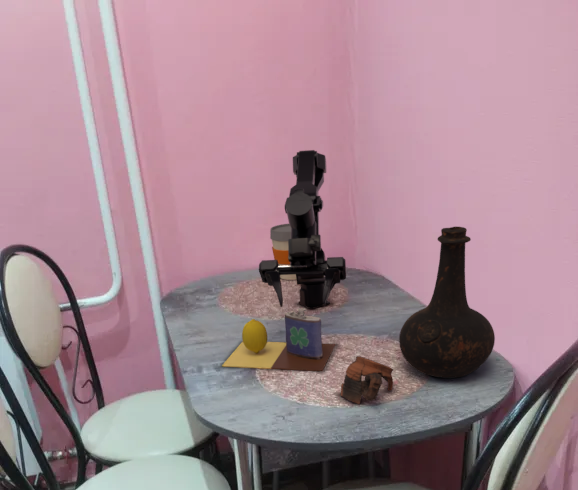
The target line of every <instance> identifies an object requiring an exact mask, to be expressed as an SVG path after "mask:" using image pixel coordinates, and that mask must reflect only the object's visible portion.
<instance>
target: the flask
mask: <svg viewBox="0 0 578 490" xmlns="http://www.w3.org/2000/svg"><path fill="white" fill-rule="evenodd" d="M306 310H307V309H306V307H302V308H301V307H298V308H296V311H297V312H295V310H292V311H289V312H285V313H284V327H285V342H286V346H287V353H288V354H291V355H294V356H298V357H303V358H309V359H316V360H318V359H321V358H322V356H323V352H322V344H323V340H322V339H323V337H322V319H321V317H319V316H311V315H306Z"/></svg>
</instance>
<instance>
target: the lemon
mask: <svg viewBox="0 0 578 490" xmlns="http://www.w3.org/2000/svg"><path fill="white" fill-rule="evenodd" d="M241 332H242V333H241V339H242V341H243V343H244V345H245V347H246V348H247V349H248V350H250V351H253V352H254V353H258V352H259V351H260V350H262V349H263V348H264V347H265V346H266V344H267V342H268V331H267V328H266V326H265V325H264V324H263V322H261V321H260V320H257V319H255V318H253V319H251V320H249V321H247V322H246V323H245V324H244V326H243V328H242V331H241Z"/></svg>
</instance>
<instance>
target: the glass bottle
mask: <svg viewBox="0 0 578 490" xmlns="http://www.w3.org/2000/svg"><path fill="white" fill-rule="evenodd" d="M440 232H441V235H439V236H438V237H437V241H438V242H439V243H440V249H439V250H440V251H439V262H438V269H437V274H436V280H435V284H434V285H435V286H434V289H433V292H432V296H431V298H430V301H429V303H428V305H427V306H426V307H424V308H422V309H420V310H418V311H416V312H414V313H412V314H411V315H410V316H409V317H408V318H407V319H406V320H405V322H404V323H403V325H402V327H401V329H400V332H399V337H398V339H399V340H398V341H399V349H400V352H401V354H402V356H403V358H404V359H405V361H406V362H407V363H408V364H409V365H410V366H411V367H412V368H413V369H414V370H416V371H417V372H419V373H422V374H424V375H427V376H432V377H435V378H443V379H456V378H461V377H464V376H467V375H470V374H471V373H473V372H475V371H477V370H478V369H479V368H480V367H481V366H483V365H484V363H486V361H487V360H488V359H489V357H490V356H491V355H492V352H493V350H494V347H495V340H496V337H495V335H496V334H495V330H494V328H493V325H492V324H491V322H490V321H489V320H488V319H487V317H486V316H484V315H483V314H482V313H480V312H479V311H477V310H475V309H474V308H471V307H470V306H469V303H468V298H467V290H466V289H467V288H466V244H467V243H469V242H470V241H471V240H472V239H471V237H469V236H468V235H467V228H466V227H464V226H450V227H443V228H441V230H440Z"/></svg>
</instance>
